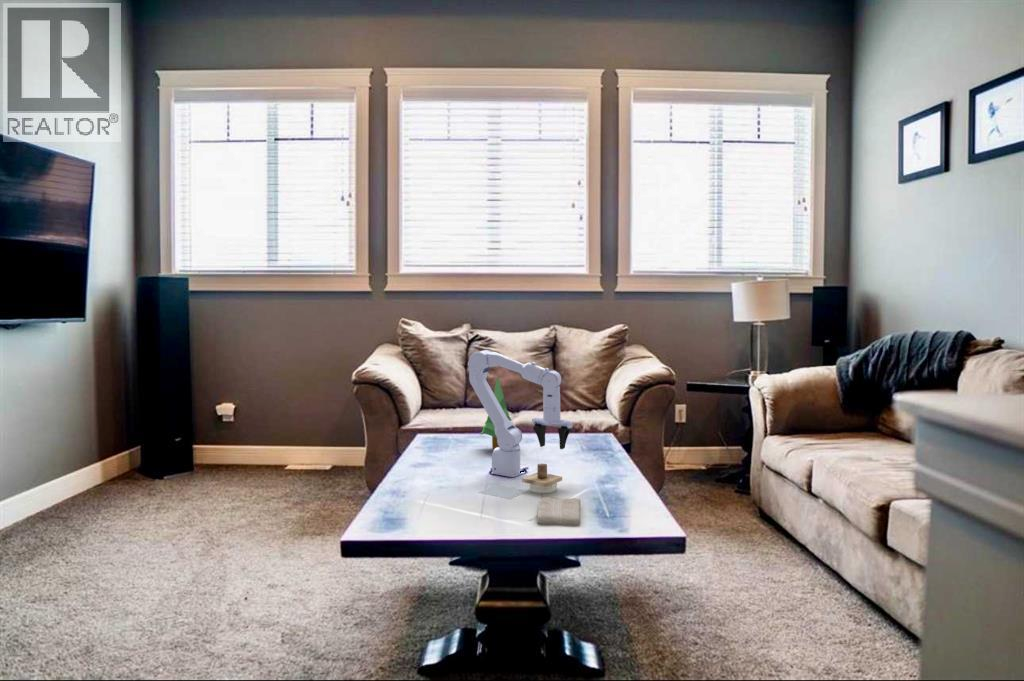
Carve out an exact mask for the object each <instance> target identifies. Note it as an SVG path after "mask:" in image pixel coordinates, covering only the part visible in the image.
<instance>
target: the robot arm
mask: <svg viewBox="0 0 1024 681" xmlns="http://www.w3.org/2000/svg"><path fill="white" fill-rule="evenodd" d="M467 366H468V375H469V376H468V377H469V378H468V379H469V384H470V385H471V386H472V388H473V390H474V392H475V394H476V396H477V397H478V400H479V401H480V402H481V405H482V407H483V408H484V410H485V412H486V414H487V416H488V415H489V417H490V419H491V421H492V423H493V424H494V426H495V435H496V437H497V443H498V445H499V447H497V448H495V449H494V450H492V455H491V474H494V475H499V476H503V477H509V478H515V477H517V476H520V475H524V474H526V471H524V472H521V473H520V471H521V446H520V443H521V442H522V440H523V433H522V431H521V430H520V429H519V428H518V427H516V426H515V424H514V423H513V421H512V420H511V421H510V420H509V419H508V418H507V416H506V415H505V413H504V411H503V409H502V407H501V406H500V404H499V402H498V400H497V399H496V397H495V395H494V390H492V388H491V386H490V384H489V383H488V381H487V378H488V377H487V376H488V374H489V371H490V370H491V369H492V367H502V368H505V369H507V370H510V371H513V372H516V373H519V374H520V375H521V377H522V378H523V379H524V380H526V381H529V382H531V383H534V384H537V385H539V386H540V385H541V386H542V390H543V391H542V404H543V406H542V407H543V408H542V409H543V410H542V412H543V418H542V417H541V418H540V417H538V418H537V417H533V418H531V425H534V426H533V427H532V429H533V430H534V432H535V434H536V436H537V439H538V443H539V447H540V448H541V447H542V448H543V447H545V446H546V430H547V427H556V428H557V433H558V438H559V449H560V450H564V449H565V448H566V443H567V439H568V437H569V434H570V432H571V431H572V428H573V427H574V426H573V421H570V420H564V419H561V393H560V392H561V386H560V385H561V383H562V376H561V374H560V373H559V372H558V371H557V370H555V369H550V368H548V367H543V366H542V367H541V366H540V365H537V363H536V362H535V361H532V362H526V363H525V364H524V363H521V362H519V361H517V360H515V359H513V358H511V357H508V356H506V355H503V354H501V353H498V352H496V351H492V350H489V349H483V350H480V351H475V352H473V353H471V355H470V356H469V359H468V362H467ZM558 427H559V428H558Z"/></svg>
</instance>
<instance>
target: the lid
mask: <svg viewBox="0 0 1024 681" xmlns="http://www.w3.org/2000/svg"><path fill="white" fill-rule="evenodd" d="M536 465H537V469H536V470H537V472H534V473H532V474H530V475H527V476H524V477H522V479H521V481H522V483H525V484H529V485H530V484H534V485H538V486H543V487H547V486H550V485H552V484H555V483H557V484H558V483H559V482H561V481H563V476H562V475H561V476H560V475H555V474H551V473H548V464H546V463H538V464H536Z"/></svg>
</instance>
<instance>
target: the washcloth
mask: <svg viewBox="0 0 1024 681" xmlns="http://www.w3.org/2000/svg"><path fill="white" fill-rule="evenodd" d="M580 519H581V499H580V498H577V497H575V498H574V497H572V498H571V497H570V498H561V497H555V496H554V497H553V496H552V497H551V496H550V497H548V496H547V497H546V496H545V497H541V498H540V500H539V501H538V507H537V522H536V523H537V524H541V525H562V526H580V525H581V520H580Z"/></svg>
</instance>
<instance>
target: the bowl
mask: <svg viewBox="0 0 1024 681" xmlns="http://www.w3.org/2000/svg"><path fill="white" fill-rule="evenodd" d="M557 486H558V482H557V483H555V484H552V485H550V486H547V487H543V486H538V485H534V484H529V491H531V492H532V493H537V494H550V493H554V492H556V491H557V488H558V487H557Z"/></svg>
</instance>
